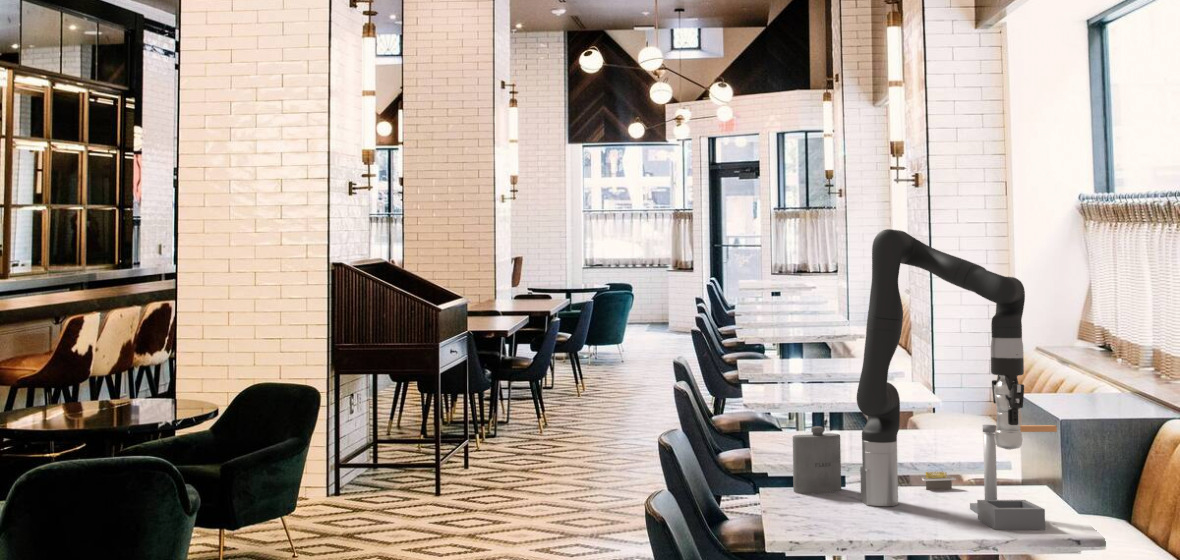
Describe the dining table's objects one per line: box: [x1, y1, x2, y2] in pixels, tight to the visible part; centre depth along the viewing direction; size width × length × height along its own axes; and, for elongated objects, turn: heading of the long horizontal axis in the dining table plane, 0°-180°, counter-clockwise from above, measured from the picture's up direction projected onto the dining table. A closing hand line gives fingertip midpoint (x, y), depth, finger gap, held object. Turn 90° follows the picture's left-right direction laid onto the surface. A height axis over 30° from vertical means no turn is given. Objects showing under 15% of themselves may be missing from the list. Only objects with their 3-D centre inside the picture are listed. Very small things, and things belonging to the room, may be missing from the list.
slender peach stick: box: [982, 424, 1058, 433], centre depth 240 cm, size 19×3×2 cm, turn 87°
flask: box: [792, 425, 842, 495], centre depth 266 cm, size 15×6×20 cm, turn 107°
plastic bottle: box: [994, 375, 1023, 451], centre depth 229 cm, size 6×7×20 cm
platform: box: [921, 471, 957, 491], centre depth 268 cm, size 12×18×7 cm, turn 98°
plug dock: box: [969, 432, 1046, 531], centre depth 234 cm, size 12×22×21 cm, turn 178°
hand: (1008, 423), depth 229 cm, fingers closed on plastic bottle, 5 cm apart
